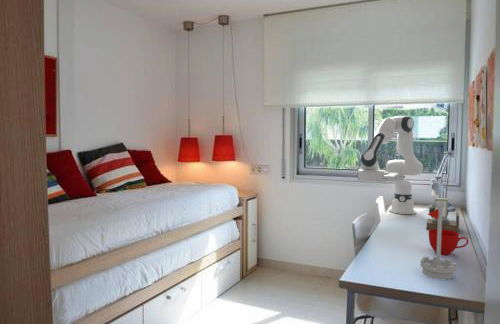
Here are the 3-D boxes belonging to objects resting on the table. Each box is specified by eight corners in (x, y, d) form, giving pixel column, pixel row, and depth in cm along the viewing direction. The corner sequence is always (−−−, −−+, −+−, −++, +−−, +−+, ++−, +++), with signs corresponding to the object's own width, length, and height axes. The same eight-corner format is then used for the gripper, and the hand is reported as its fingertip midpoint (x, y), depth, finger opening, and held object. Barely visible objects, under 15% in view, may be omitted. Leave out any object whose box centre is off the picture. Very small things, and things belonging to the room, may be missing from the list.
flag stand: (444, 268, 159) (447, 198, 157) (463, 280, 146) (466, 204, 144) (414, 268, 158) (416, 198, 156) (430, 280, 145) (433, 204, 143)
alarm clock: (445, 221, 250) (446, 197, 248) (449, 222, 244) (450, 198, 243) (428, 220, 251) (429, 196, 250) (431, 222, 245) (432, 198, 244)
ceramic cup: (467, 260, 170) (468, 238, 169) (426, 254, 178) (427, 233, 178) (467, 252, 181) (468, 232, 181) (428, 247, 190) (429, 228, 189)
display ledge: (427, 224, 239) (427, 209, 238) (457, 227, 231) (458, 211, 230) (426, 229, 226) (427, 213, 226) (458, 232, 219) (459, 216, 218)
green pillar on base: (432, 219, 235) (433, 196, 234) (448, 221, 231) (449, 198, 230) (432, 222, 227) (433, 199, 226) (448, 224, 223) (449, 200, 222)
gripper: (380, 173, 240) (403, 174, 234) (384, 170, 258) (405, 171, 252) (379, 183, 240) (402, 184, 234) (383, 179, 259) (405, 180, 252)
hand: (404, 177), depth 243 cm, fingers open, 8 cm apart
